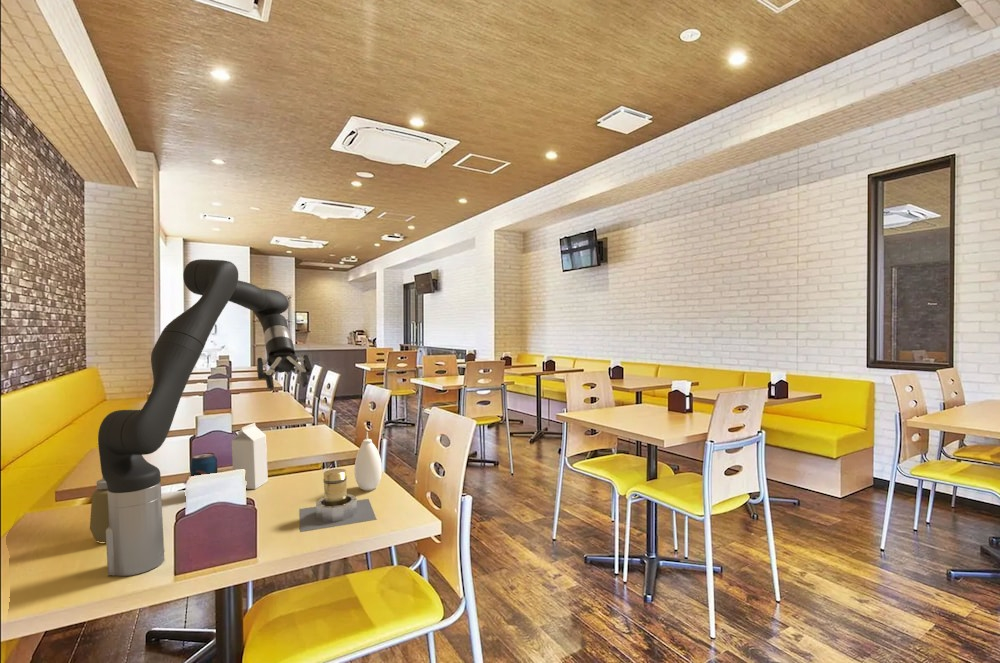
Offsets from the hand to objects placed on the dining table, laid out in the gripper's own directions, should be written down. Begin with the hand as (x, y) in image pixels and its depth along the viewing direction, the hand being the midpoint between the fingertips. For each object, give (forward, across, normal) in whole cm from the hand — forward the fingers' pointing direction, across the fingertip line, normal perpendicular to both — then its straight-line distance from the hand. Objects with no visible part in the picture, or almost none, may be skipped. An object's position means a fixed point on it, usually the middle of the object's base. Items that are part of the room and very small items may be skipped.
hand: (288, 386), depth 145 cm
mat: (+36, +7, +10) cm, 38 cm away
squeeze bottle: (+23, -41, +24) cm, 53 cm away
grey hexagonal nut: (+36, +7, +9) cm, 37 cm away
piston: (+36, +7, +10) cm, 37 cm away
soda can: (+8, -20, +39) cm, 44 cm away
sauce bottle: (+26, +20, +20) cm, 39 cm away
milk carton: (+7, -8, +40) cm, 41 cm away
